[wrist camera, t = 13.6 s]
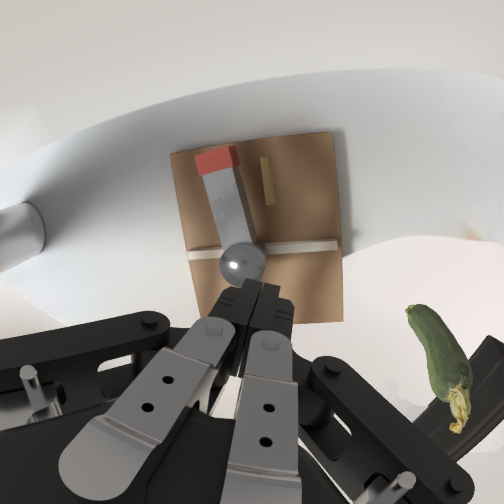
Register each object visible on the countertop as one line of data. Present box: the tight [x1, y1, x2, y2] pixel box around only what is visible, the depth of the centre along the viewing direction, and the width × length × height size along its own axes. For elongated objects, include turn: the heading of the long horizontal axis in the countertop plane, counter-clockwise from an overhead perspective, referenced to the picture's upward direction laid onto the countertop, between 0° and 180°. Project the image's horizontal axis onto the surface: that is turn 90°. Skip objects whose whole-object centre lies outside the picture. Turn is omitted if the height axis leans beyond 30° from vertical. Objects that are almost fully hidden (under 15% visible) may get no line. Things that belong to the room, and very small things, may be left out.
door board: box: [170, 132, 343, 324], centre depth 35 cm, size 18×22×3 cm
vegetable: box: [405, 304, 473, 434], centre depth 27 cm, size 4×4×20 cm
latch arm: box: [194, 146, 269, 288], centre depth 31 cm, size 14×4×3 cm, turn 15°
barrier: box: [412, 335, 504, 462], centre depth 35 cm, size 24×9×10 cm, turn 157°
